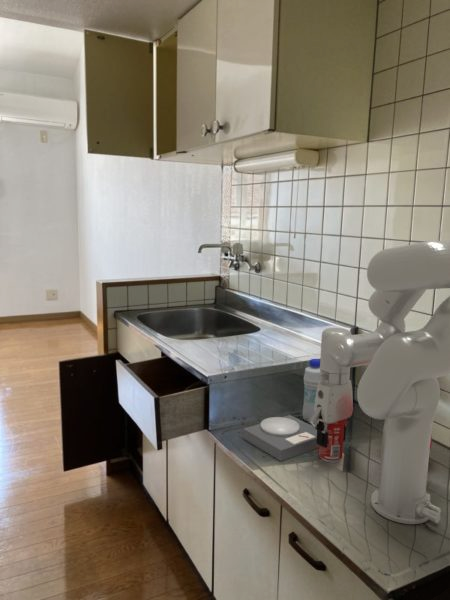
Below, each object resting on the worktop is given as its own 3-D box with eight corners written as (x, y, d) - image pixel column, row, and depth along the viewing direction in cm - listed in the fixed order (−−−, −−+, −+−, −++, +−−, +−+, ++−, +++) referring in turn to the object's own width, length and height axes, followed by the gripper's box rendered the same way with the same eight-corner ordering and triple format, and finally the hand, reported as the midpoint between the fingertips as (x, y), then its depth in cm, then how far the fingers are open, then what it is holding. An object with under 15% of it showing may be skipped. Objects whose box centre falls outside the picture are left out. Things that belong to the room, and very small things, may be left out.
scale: (328, 443, 134) (329, 430, 134) (280, 461, 124) (281, 446, 123) (289, 424, 147) (289, 411, 146) (243, 438, 137) (243, 425, 136)
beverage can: (340, 453, 129) (342, 411, 127) (343, 464, 123) (346, 420, 121) (316, 452, 129) (318, 409, 127) (318, 463, 123) (321, 419, 121)
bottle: (317, 426, 145) (320, 363, 142) (297, 421, 149) (300, 359, 146) (326, 420, 151) (330, 358, 148) (307, 414, 155) (310, 354, 152)
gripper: (321, 386, 114) (318, 456, 117) (368, 374, 124) (363, 439, 127) (299, 378, 120) (296, 445, 123) (345, 367, 130) (341, 429, 133)
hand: (330, 441), depth 125 cm, fingers closed on beverage can, 6 cm apart
